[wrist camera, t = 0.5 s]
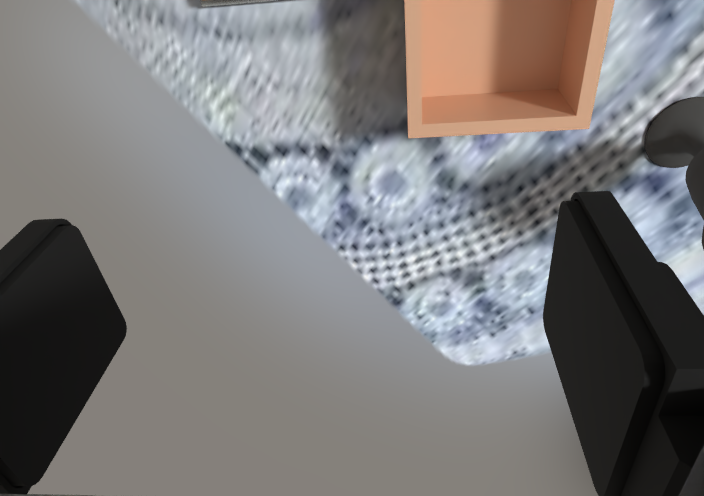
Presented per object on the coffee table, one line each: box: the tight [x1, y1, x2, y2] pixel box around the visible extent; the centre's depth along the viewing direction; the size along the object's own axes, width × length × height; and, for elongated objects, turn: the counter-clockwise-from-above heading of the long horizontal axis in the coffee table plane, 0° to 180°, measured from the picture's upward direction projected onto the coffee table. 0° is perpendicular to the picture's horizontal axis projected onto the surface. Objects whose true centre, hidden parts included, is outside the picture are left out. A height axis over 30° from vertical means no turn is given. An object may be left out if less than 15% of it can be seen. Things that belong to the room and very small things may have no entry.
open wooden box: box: [404, 0, 614, 138], centre depth 28 cm, size 10×10×5 cm
